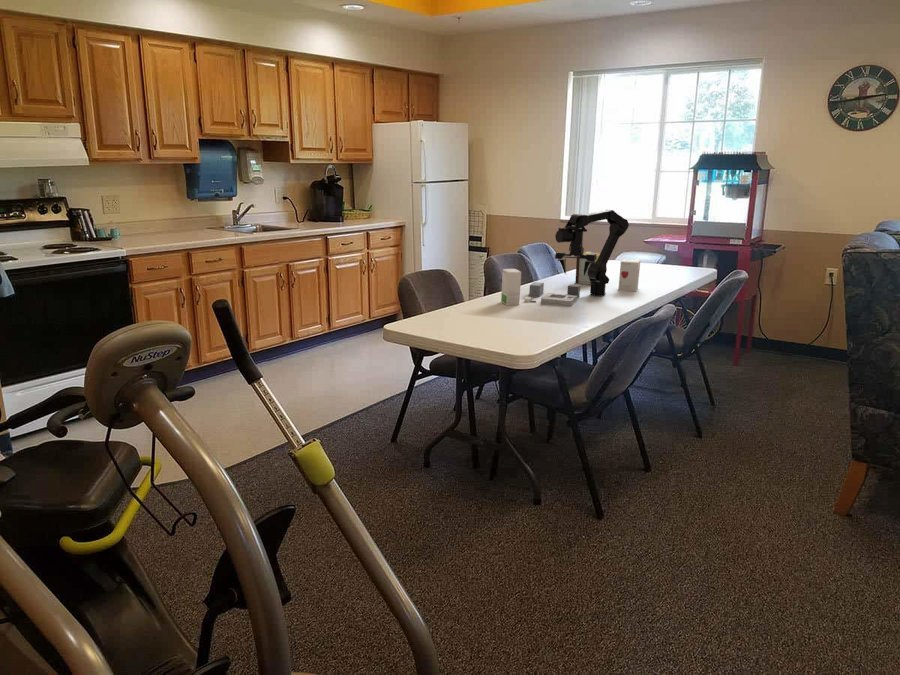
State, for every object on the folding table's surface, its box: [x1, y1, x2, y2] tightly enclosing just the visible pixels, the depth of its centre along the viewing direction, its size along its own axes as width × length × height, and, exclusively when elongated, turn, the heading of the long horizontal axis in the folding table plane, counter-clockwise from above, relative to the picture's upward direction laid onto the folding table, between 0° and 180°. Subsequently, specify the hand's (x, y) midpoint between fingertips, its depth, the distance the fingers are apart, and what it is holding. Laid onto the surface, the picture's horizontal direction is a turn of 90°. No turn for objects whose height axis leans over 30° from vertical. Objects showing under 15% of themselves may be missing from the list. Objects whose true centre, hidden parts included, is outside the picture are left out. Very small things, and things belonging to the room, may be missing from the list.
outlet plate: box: [540, 292, 578, 307], centre depth 301 cm, size 14×14×3 cm
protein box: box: [574, 251, 601, 286], centre depth 348 cm, size 10×15×16 cm
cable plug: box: [524, 296, 537, 303], centre depth 302 cm, size 5×3×2 cm, turn 68°
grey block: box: [567, 283, 581, 300], centre depth 311 cm, size 5×5×7 cm
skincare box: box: [500, 268, 522, 307], centre depth 296 cm, size 8×7×16 cm
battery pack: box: [528, 281, 545, 298], centre depth 316 cm, size 5×9×6 cm, turn 160°
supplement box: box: [618, 258, 641, 292], centre depth 329 cm, size 9×9×15 cm
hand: (574, 274), depth 309 cm, fingers open, 9 cm apart
